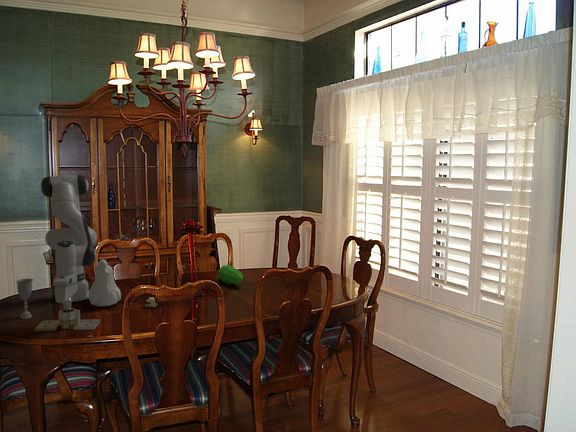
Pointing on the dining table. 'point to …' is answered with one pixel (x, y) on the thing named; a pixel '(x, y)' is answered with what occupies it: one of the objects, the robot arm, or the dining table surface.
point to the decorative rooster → (104, 286)
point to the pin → (69, 306)
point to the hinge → (68, 322)
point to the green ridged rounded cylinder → (230, 275)
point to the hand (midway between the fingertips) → (67, 307)
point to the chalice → (25, 294)
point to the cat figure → (150, 302)
